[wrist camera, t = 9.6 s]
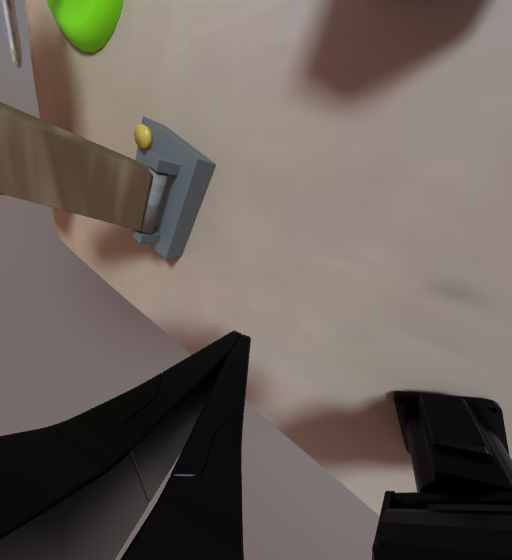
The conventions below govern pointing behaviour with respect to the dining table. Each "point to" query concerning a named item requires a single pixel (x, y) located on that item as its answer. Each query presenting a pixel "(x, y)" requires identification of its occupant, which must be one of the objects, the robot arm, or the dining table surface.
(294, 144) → the dining table surface
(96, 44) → the wineglass
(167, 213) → the blue-grey base plate
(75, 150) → the toggle lever
